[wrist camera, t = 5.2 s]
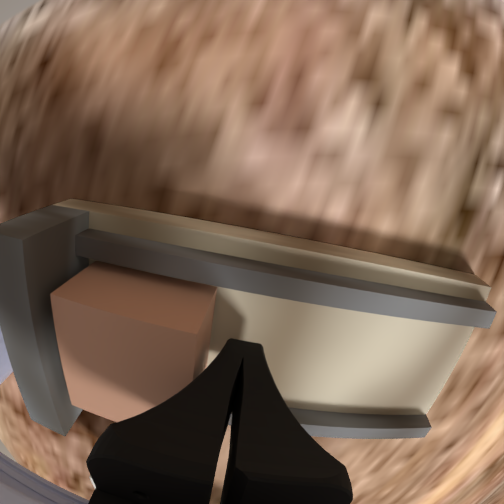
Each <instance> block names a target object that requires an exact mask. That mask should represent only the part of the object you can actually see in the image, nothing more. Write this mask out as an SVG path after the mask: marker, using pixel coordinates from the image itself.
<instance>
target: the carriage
mask: <svg viewBox="0 0 504 504" xmlns="http://www.w3.org/2000/svg"><path fill="white" fill-rule="evenodd" d="M216 293H217V287H216V286H211V285H206V284H201V283H196V282H191V281H186V280H181V279H177V278H172V277H167V276H163V275H158V274H153V273H149V272H144V271H140V270H135V269H131V268H127V267H122V266H118V265H113V264H109V263H105V262H101V261H95V262H94V263H92V264H91V265H89V266H88V267H86V268H85V269H84V270H82V271H81V272H79V273H78V274H77V275H75V276H74V277H72V278H71V279H70V280H68V281H67V282H66V283H64V284H63V285H61V286H60V287H59V288H57V289H56V290H55V291H53V292H52V293H51V294H50V297H51V305H52V312H53V319H54V326H55V332H56V338H57V343H58V348H59V353H60V358H61V363H62V368H63V372H64V376H65V381H66V385H67V389H68V392H69V396H70V400H71V404H72V405H73V406H76V407H78V408H81V409H83V410H86V411H88V412H91V413H93V414H96V415H98V416H101V417H104V418H106V419H109V420H112V421H115V422H120V421H122V420H125V419H128V418H131V417H134V416H136V415H139V414H141V413H143V412H145V411H147V410H149V409H151V408H153V407H155V406H157V405H159V404H161V403H162V402H164V401H166V400H167V399H169V398H170V397H172V396H174V395H175V394H177V393H178V392H179V391H181V390H182V389H183V388H185V387H186V386H187V385H188V384H190V383H191V382H192V381H193V380H194V379H195V378H196V377H197V376H199V375H200V374H201V373H202V372H203V371H204V370H205V369H206V368H207V362H208V354H209V346H210V338H211V330H212V322H213V315H214V307H215V300H216Z"/></svg>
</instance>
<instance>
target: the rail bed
mask: <svg viewBox="0 0 504 504" xmlns="http://www.w3.org/2000/svg"><path fill="white" fill-rule="evenodd" d="M95 261H101V262H105V263H109V264H113V265H118V266H122V267H127V268H131V269H135V270H140V271H144V272H149V273H153V274H158V275H163V276H167V277H172V278H177V279H181V280H186V281H191V282H196V283H201V284H206V285H211V286H216V287H217V293H216V300H215V307H214V315H213V322H212V330H211V338H210V346H209V354H208V362H207V367H208V366H209V364H210V363H211V362H212V361H213V360H214V359H215V358H216V356H217V355H218V354H219V353H220V351H221V350H222V348H223V347H224V345H225V344H226V342H227V340H228V339H230V338H233V339H238V340H243V341H249V342H254V343H260V344H261V345H262V346H263V349H264V354H265V358H266V361H267V364H268V367H269V369H270V372H271V374H272V377H273V379H274V382H275V384H276V386H277V388H278V390H279V392H280V394H281V396H282V398H283V399H284V401H285V403H286V404H287V406H288V408H289V409H290V411H291V412H292V414H293V415H294V416H295V418H296V419H297V420H298V422H299V423H300V424H301V426H302V427H303V428H304V429H305V430H306V431H307V433H308V434H309V435H310V436H318V437H332V438H356V439H399V438H421V437H425V436H426V434H427V433H428V432H429V430H430V429H431V425H430V423H429V420H428V418H427V416H426V414H427V412H428V411H429V409H430V408H431V406H432V404H433V403H434V401H435V400H436V398H437V396H438V395H439V393H440V391H441V390H442V388H443V386H444V385H445V383H446V381H447V380H448V378H449V376H450V374H451V372H452V371H453V369H454V367H455V365H456V363H457V361H458V360H459V358H460V356H461V354H462V352H463V350H464V348H465V346H466V344H467V342H468V340H469V338H470V336H471V334H472V331H473V329H474V327H479V328H490V326H491V324H492V322H493V319H494V317H495V315H496V311H495V310H494V309H493V308H492V307H491V306H490V305H489V304H487V303H486V299H487V297H488V294H489V292H490V289H491V287H490V286H489V285H488V284H486V283H485V282H484V281H483V280H481V279H480V278H479V277H477V276H476V275H474V274H470V273H465V272H461V271H457V270H452V269H448V268H443V267H438V266H434V265H429V264H425V263H420V262H415V261H411V260H406V259H401V258H397V257H392V256H387V255H382V254H377V253H373V252H368V251H363V250H358V249H353V248H348V247H343V246H338V245H333V244H328V243H323V242H318V241H313V240H308V239H302V238H297V237H292V236H287V235H282V234H276V233H271V232H266V231H260V230H255V229H249V228H244V227H239V226H233V225H228V224H222V223H216V222H211V221H205V220H199V219H194V218H188V217H182V216H176V215H171V214H165V213H159V212H153V211H147V210H141V209H135V208H129V207H123V206H116V205H110V204H104V203H97V202H91V201H85V200H78V199H69V200H65V201H62V202H59V203H56V204H53V205H50V206H47V207H44V208H42V209H39V210H36V211H33V212H30V213H27V214H25V215H22V216H19V217H17V218H14V219H11V220H9V221H6V222H3V223H1V224H0V327H1V331H2V335H3V339H4V343H5V346H6V350H7V353H8V356H9V360H10V363H11V366H12V369H13V372H14V375H15V378H16V381H17V384H18V387H19V389H20V392H21V395H22V397H23V400H24V403H25V405H26V408H27V410H28V412H29V415H30V417H31V419H32V420H33V421H35V422H37V423H39V424H41V425H43V426H45V427H47V428H49V429H51V430H53V431H55V432H57V433H59V434H61V435H63V436H66V435H67V433H68V431H69V430H70V428H71V427H72V425H73V424H74V422H75V421H76V419H77V418H78V416H79V415H80V413H81V412H82V410H83V409H81V408H78V407H76V406H73V405H72V404H71V400H70V396H69V392H68V389H67V385H66V381H65V376H64V372H63V368H62V363H61V358H60V353H59V348H58V343H57V338H56V332H55V326H54V319H53V312H52V305H51V297H50V294H51V293H52V292H53V291H55V290H56V289H57V288H59V287H60V286H61V285H63V284H64V283H66V282H67V281H68V280H70V279H71V278H72V277H74V276H75V275H77V274H78V273H79V272H81V271H82V270H84V269H85V268H86V267H88V266H89V265H91V264H92V263H94V262H95ZM231 421H232V413H231V416H230V419H229V423H228V425H231Z"/></svg>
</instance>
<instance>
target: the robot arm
mask: <svg viewBox="0 0 504 504" xmlns="http://www.w3.org/2000/svg"><path fill="white" fill-rule="evenodd" d="M12 372H13V369H12V366H11V363H10V360H9V356H8V353H7V350H6V346H5V343H4V339H3V335H2V331H1V327H0V384H1V383H2V382H3V381H4V380H5V379H6V378H7V377H8V376H9V375H10V374H11V373H12ZM231 413H232V421H231V436H230V450H229V458H228V463H227V469H226V474H225V480H224V485H223V491H222V496H221V501H220V504H350V503H351V502H352V500H353V492H352V486H351V482H350V479H349V476H348V473H347V470H346V467H345V466H344V465H343V464H342V463H340V462H339V461H338V460H337V459H335V458H334V457H333V456H331V455H330V454H329V453H328V452H326V451H325V450H324V449H323V448H322V447H321V446H320V445H319V444H318V443H317V442H316V441H315V440H314V439H313V438H312V437H311V436H310V435H309V434H308V433H307V431H306V430H305V429H304V428H303V427H302V426H301V424H300V423H299V422H298V420H297V419H296V418H295V416H294V415H293V414H292V412H291V411H290V409H289V408H288V406H287V404H286V403H285V401H284V399H283V398H282V396H281V394H280V392H279V390H278V388H277V386H276V384H275V382H274V379H273V377H272V374H271V372H270V369H269V367H268V364H267V361H266V358H265V354H264V349H263V346H262V345H261V344H260V343H254V342H249V341H243V340H238V339H233V338H230V339H228V340H227V342H226V344H225V345H224V347H223V348H222V350H221V351H220V353H219V354H218V355H217V356H216V358H215V359H214V360H213V361H212V362H211V363H210V364H209V366H208V367H207V368H206V369H205V370H204V371H203V372H202V373H201V374H200V375H199V376H197V377H196V378H195V379H194V380H193V381H192V382H191V383H190V384H188V385H187V386H186V387H185V388H183V389H182V390H181V391H179V392H178V393H177V394H175V395H174V396H172V397H170V398H169V399H167V400H166V401H164V402H162V403H161V404H159V405H157V406H155V407H153V408H151V409H149V410H147V411H145V412H143V413H141V414H139V415H136V416H134V417H131V418H128V419H125V420H122V421H120V422H117V423H113V424H110V426H109V427H108V428H107V429H106V430H105V431H104V432H103V434H102V435H101V436H100V438H99V439H98V440H97V442H96V443H95V445H94V447H93V449H92V451H91V453H90V455H89V457H88V459H87V461H86V463H87V468H88V470H89V472H90V475H91V477H92V479H93V481H94V484H95V486H96V488H95V490H94V492H93V494H92V497H91V499H90V501H89V500H87V499H84V498H82V497H80V496H78V495H76V494H73V493H71V492H69V491H67V490H65V489H63V488H61V487H59V486H57V485H55V484H53V483H51V482H49V481H47V480H46V479H44V478H42V477H40V476H38V475H36V474H35V473H33V472H31V471H30V470H28V469H26V468H24V467H23V466H21V465H20V464H18V463H16V462H14V461H13V460H12V459H10V458H8V457H7V456H5V455H4V454H2V453H1V452H0V504H209V501H210V496H211V492H212V487H213V482H214V477H215V472H216V467H217V462H218V457H219V453H220V449H221V445H222V442H223V439H224V435H225V432H226V429H227V426H228V423H229V419H230V416H231Z"/></svg>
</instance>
